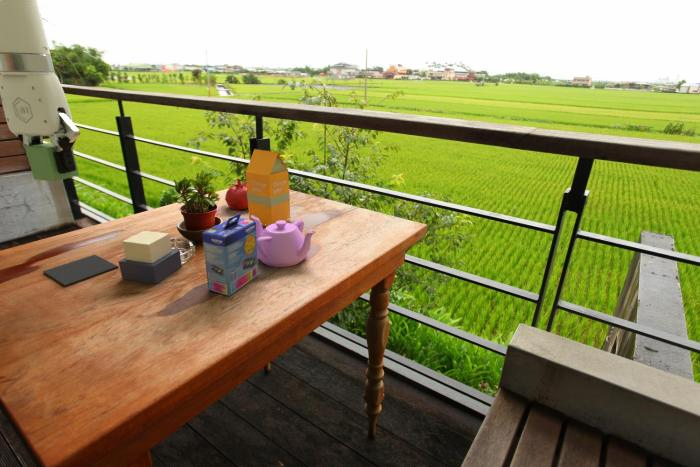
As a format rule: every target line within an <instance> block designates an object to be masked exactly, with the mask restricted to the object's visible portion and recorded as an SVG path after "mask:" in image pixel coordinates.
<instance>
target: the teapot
mask: <svg viewBox="0 0 700 467" xmlns="http://www.w3.org/2000/svg"><path fill="white" fill-rule="evenodd" d="M251 217H252V218H253V220H254V221H256V237H257V259H258V260H259V261H260V262H262V263H263V264H264V265H265V266H266V265H267V266H268V267H273V268H288V267H293V266H296V265H297V264H299V263H301V262H302V261H303V260H304V259H305V258H306V257H307V255H308V253H309V252H310V251H311V247H312V246H311V245H312V244H311V243H312V241H311V240H312V236H313V235H314V234H315V233H317V230H316V231H315V230H312V231H310V230H309V231H307V232H306V234H305V235H303V232H304V226H305V223H304V220H303V219H297V220H296V221H294V222H293V223H291V222H286V221H283V220H280V221H276V223H275V224H271V225H269V226H265V228H263V225H261V222H260V220H259V219H258V218H257V217H256V216H254V215H251Z"/></svg>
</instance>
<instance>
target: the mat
mask: <svg viewBox="0 0 700 467" xmlns="http://www.w3.org/2000/svg"><path fill="white" fill-rule="evenodd" d="M116 269H119V265H117V264H114V263H112V262H111V261H109V260H107V259H105V258H103V257H101V256H99V255H97V254H92V255H89V256H85V257H83V258H79V259H76V260H73V261H70V262H67V263H64V264H60V265H58V266H55V267H51V268H48V269H45V270H43V271H42V273H43V274H44V275H46V276H48V277H49V278H51V279H52V280H54V281H55V282H57V283H59V284H60V285H62V286H63V287H66V288H67V287H69V286H72V285H75V284H78V283H81V282H83V281H86V280H88V279H92V278H94V277H97V276H99V275H102V274H105V273H108V272H111V271H113V270H116Z"/></svg>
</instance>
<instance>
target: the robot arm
mask: <svg viewBox="0 0 700 467" xmlns="http://www.w3.org/2000/svg"><path fill="white" fill-rule="evenodd" d="M0 100H1V106H2V109H3V113H4V117H5V120H6V124H7V127H8V129H9V131H10V133H12V134H13V135H15V137H17V139H18V140H19V141H20V143H22V144H23V148H24V149H25V147H27V146H33V145H39V144H44V137H45V136H47V137H48V138H49V140H50V143H52V144H53V146H54V148H55V150H56V152H53V153H54V157H55V161H56V164H57V168H58V172H59V173H61V174H64V173H68V172H72V171H75V170H76V166H75V162H74V158H73V154H72V149H73V150H74V145H75V143H76V141H77V139H78V138H79V137H80V135H81V131H80V129H79V128H78V127H77V126H76V125H75V123H74V122H73V116H72V113H71V109H70V105H69V103H68V100H67V97H66V94H65V91H64V89H63V86H62V84H61V81H60V79H59V77H58V75H56V71H55V68H54V63H53V59H52V56H51V52H50V47H49V43H48V39H47V35H46V30H45V26H44V22H43V19H42V15H41V11H40V7H39V3H38V0H0ZM59 138H61V139H59Z"/></svg>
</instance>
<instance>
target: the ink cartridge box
mask: <svg viewBox="0 0 700 467" xmlns="http://www.w3.org/2000/svg"><path fill="white" fill-rule="evenodd" d="M241 216H242V212H238V213H237V214H235V215H233V216H231V217H229V218H228V219H227V220H225V221H223V222H222V223H219V224H216V225H214V226H212V227H210V228H207V229H206V230H204V231H203V232H201V235H202V236H201V237H202V245H203V253H204V262H205V271H206V280H207V289H208V291H212V292H215V293H218V294H221V295H223V296H227V297H231V295H233V294H235V293H236V292H237V291H239V290H240V289H241V288H242V287H244V286H245V285H247V284H248V283H249V282H251V281H253V280H254V279H256V278H257V277H259V263H258V262H259V261H258V260H259V259H258V257H257V237H256V221H253V220H249V218H243V217H241Z"/></svg>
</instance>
